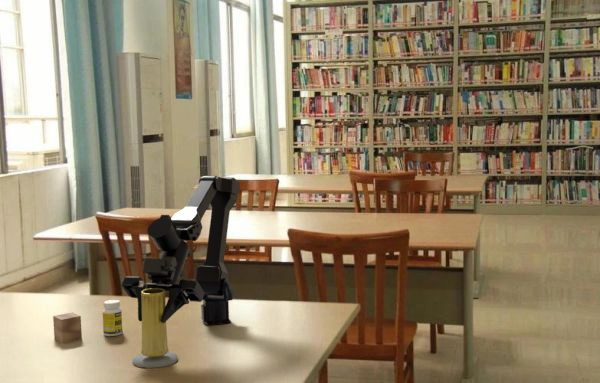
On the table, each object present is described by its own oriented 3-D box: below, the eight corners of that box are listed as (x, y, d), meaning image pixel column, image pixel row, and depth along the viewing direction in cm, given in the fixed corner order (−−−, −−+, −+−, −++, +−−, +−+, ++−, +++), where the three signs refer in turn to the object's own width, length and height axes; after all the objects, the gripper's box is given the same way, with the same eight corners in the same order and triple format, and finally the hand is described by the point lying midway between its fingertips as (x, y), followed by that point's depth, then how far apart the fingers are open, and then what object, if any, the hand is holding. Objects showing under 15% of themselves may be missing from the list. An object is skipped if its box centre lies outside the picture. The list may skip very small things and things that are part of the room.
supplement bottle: (117, 336, 187) (116, 304, 187) (100, 336, 188) (98, 303, 188) (125, 331, 192) (124, 299, 191) (108, 330, 193) (107, 299, 192)
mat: (173, 351, 175) (173, 349, 175) (181, 364, 165) (181, 361, 165) (129, 357, 171) (129, 354, 171) (135, 370, 162) (135, 367, 162)
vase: (170, 348, 171) (168, 287, 170) (166, 357, 165) (164, 294, 164) (144, 348, 171) (142, 287, 170) (138, 357, 165) (136, 294, 164)
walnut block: (73, 335, 190) (72, 312, 189) (81, 339, 186) (80, 315, 186) (54, 339, 187) (53, 315, 186) (62, 343, 183) (61, 319, 182)
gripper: (122, 241, 172) (98, 300, 163) (196, 244, 166) (175, 305, 157) (141, 268, 181) (119, 325, 171) (212, 271, 175) (193, 330, 166)
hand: (151, 321), depth 166 cm, fingers closed on vase, 5 cm apart
